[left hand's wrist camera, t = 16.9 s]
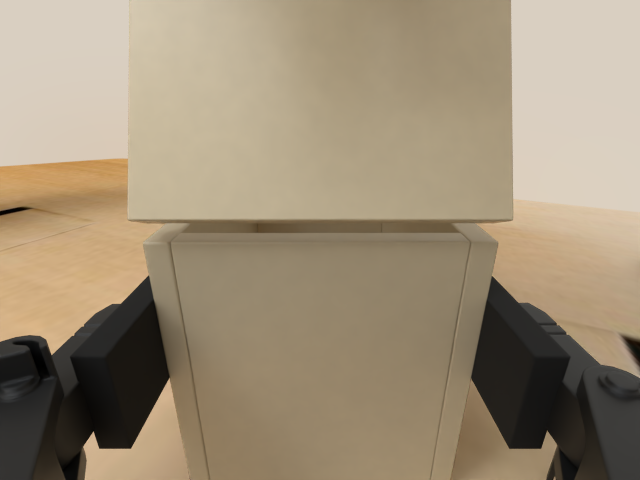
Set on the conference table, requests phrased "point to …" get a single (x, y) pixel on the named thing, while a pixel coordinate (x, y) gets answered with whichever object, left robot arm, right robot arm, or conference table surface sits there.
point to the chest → (320, 345)
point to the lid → (320, 111)
